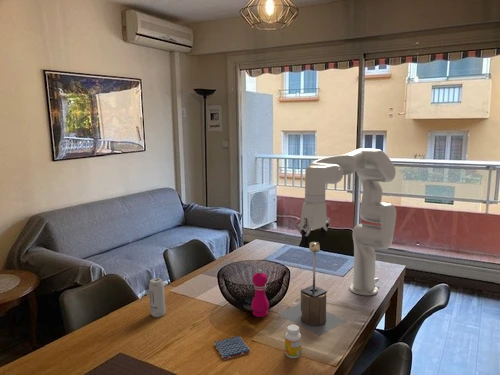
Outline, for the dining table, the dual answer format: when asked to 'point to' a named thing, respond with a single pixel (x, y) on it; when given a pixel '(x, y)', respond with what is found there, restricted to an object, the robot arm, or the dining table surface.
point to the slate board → (295, 316)
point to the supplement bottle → (293, 341)
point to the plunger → (314, 260)
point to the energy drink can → (157, 297)
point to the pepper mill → (260, 295)
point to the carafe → (313, 306)
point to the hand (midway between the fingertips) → (313, 243)
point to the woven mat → (232, 347)
